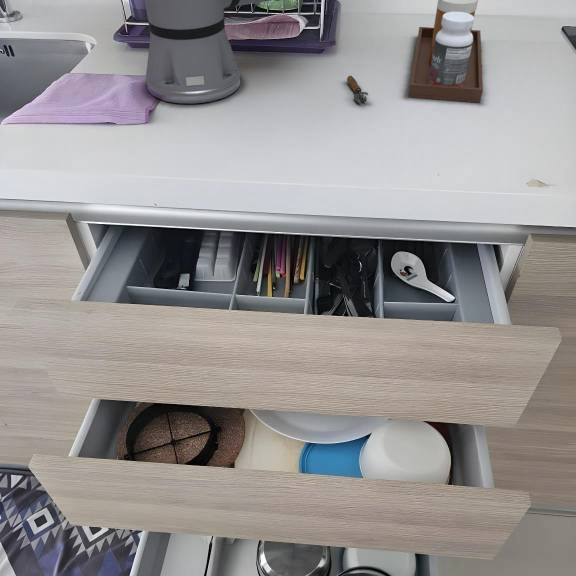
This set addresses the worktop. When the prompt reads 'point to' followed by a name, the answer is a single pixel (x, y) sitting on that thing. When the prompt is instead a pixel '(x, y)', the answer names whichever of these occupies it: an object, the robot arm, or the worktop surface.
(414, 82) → the tray
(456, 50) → the pill bottle
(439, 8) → the amber bottle middle
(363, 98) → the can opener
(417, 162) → the worktop surface
